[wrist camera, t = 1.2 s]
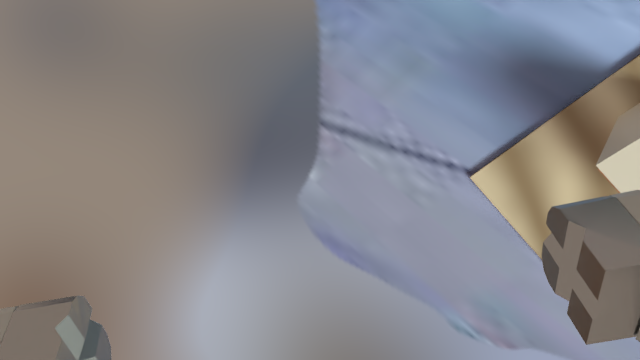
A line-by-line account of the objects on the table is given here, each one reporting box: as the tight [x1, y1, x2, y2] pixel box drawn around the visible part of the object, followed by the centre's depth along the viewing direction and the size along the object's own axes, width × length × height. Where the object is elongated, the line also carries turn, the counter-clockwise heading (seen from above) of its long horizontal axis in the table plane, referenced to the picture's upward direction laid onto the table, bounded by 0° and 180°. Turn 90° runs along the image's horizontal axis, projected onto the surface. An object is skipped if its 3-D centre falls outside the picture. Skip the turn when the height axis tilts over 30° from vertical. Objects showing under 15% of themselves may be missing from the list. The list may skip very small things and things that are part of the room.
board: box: [470, 55, 640, 259], centre depth 48 cm, size 20×15×1 cm
